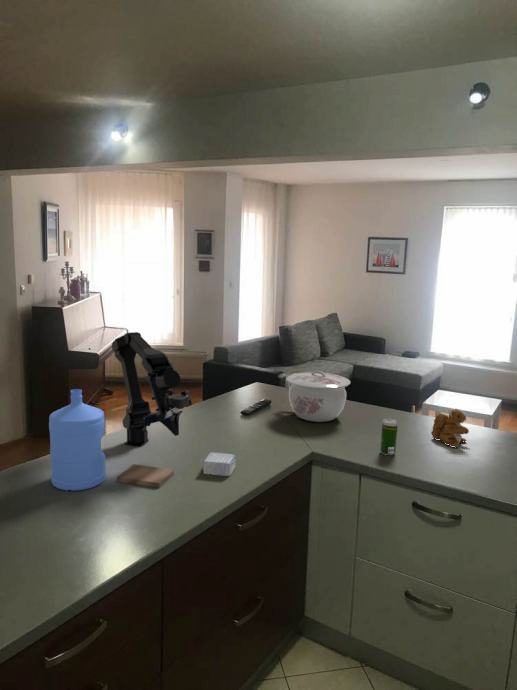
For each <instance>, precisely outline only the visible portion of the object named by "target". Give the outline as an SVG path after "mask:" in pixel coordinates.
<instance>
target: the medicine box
mask: <svg viewBox="0 0 517 690" xmlns="http://www.w3.org/2000/svg"><path fill="white" fill-rule="evenodd" d="M235 468H236V454H232V453H225V452H224V453H222V452H213V451H210V453H209V454H208V455H207V457H205V459H204V461H203V472H202V473H203V474H204V475H210V474H211V475H210V476H220V477H230V476H231V475H232V473H233V471H234V470H235Z"/></svg>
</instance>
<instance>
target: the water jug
mask: <svg viewBox="0 0 517 690" xmlns="http://www.w3.org/2000/svg"><path fill="white" fill-rule="evenodd" d="M82 393H83V390H82V389H80V388H74V389H70V401H71V402H70V404H68V405H66V406H64V407H61V408H60V409H57V410H55V411H53V412H52V413H50V415H49V417H48V419H49V422H48V429H49V440H50V441H49V443H50V444H49V445H50V446H49V447H50V448H49V453H50V455H49V456H50V463H51V465H50V466H51V468H50V469H51V476H50V479H51V480H50V481H51V484H52V486H53V487H55V488H57V489H59V490H62V491H68V490H71V491H72V492H73V491H74V492H75V491H82V490H83V491H84V490H88V489H91V488H94V487H97V486H98V485H100V484H102V483H103V482H104V481H105V480H106V477H107V469H106V455H105V453H104V452H103V451H102V438H103V437H104V436H105V434H106V433H105V432H106V431H105V430H106V429H105V428H106V427H105V426H106V419H105V412H104V411H103V410H102V409H101V408H99V407H95V406H92V405H89V404H86V403H84V402H83V395H82ZM71 491H70V492H71Z"/></svg>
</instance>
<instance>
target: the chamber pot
mask: <svg viewBox="0 0 517 690" xmlns="http://www.w3.org/2000/svg"><path fill="white" fill-rule="evenodd" d="M285 381H286V382H287V384H288V401H289V405H290V407H291V409H292V411H293V412H294V414H295V415H296V416H297V417H298V418H300V419H302V420H304V421H308V422H311V423H312V422H313V423H325V422H331V421H333V420H335V419H336V418H338V416H339V415H340V413H342V411H343V410H344V408H345V405H346V400H347V391H346V389H345V388H346V387H348V386H349V385H351V380H350V379H348V378H347V377H345V376H342V375H338V374H334V373H330V372H323V371H321V370H313V371H305V372H296V373H295V372H294V373H292V374H290V375H288V376H287V377H286V378H285Z"/></svg>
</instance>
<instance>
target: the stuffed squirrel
mask: <svg viewBox="0 0 517 690" xmlns="http://www.w3.org/2000/svg"><path fill="white" fill-rule="evenodd" d="M466 421H467V417H466V414H464V412H462V411H461V410H459V409H458V408H455V409H452V410H448V415H447V414H444V413H438V414H436V415H435V417H434V419H433V425H432V430H431V433H430V434H431V435H432V438H433V439H434V438H436V439H440V440H441V441H440V442H441V443H443V442H444V443H446V444H449V445H451V446H455V447H458V448H459V444H460V443H459V442H463V441H464V442H465V441H467V439H466V438H463V436H462V435H464V434H465V435H468V434H469V432H470V431H469V428H468V427H466V426H463V424H464V423H465V422H466ZM444 443H443V444H444ZM458 443H459V444H458Z"/></svg>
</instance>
